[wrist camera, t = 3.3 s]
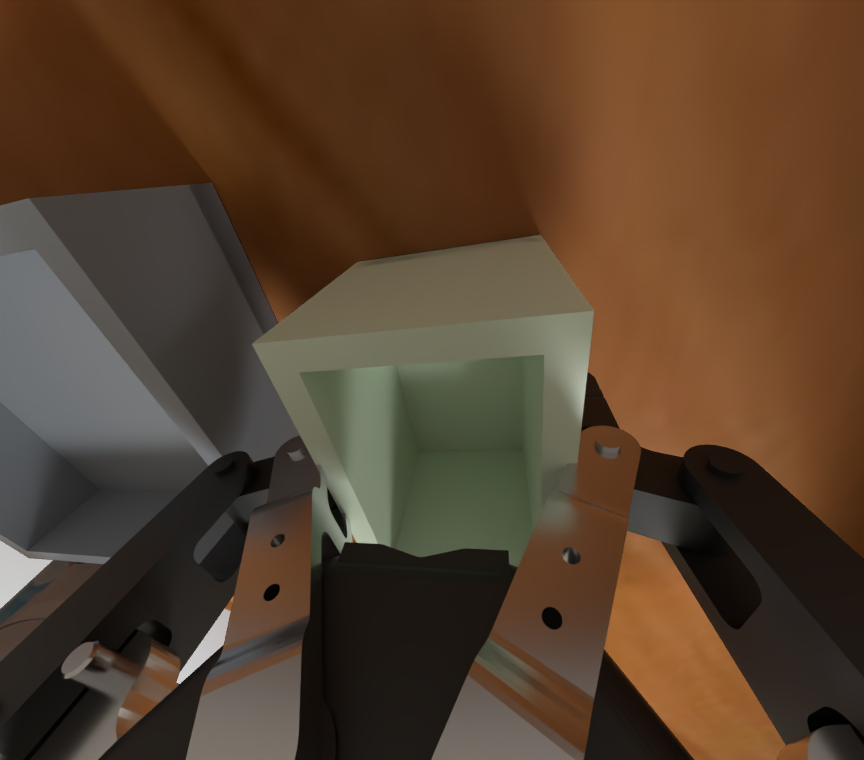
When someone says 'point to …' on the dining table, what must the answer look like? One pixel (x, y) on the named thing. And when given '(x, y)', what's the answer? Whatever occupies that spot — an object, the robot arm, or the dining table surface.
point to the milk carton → (40, 600)
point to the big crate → (124, 364)
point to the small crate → (440, 392)
